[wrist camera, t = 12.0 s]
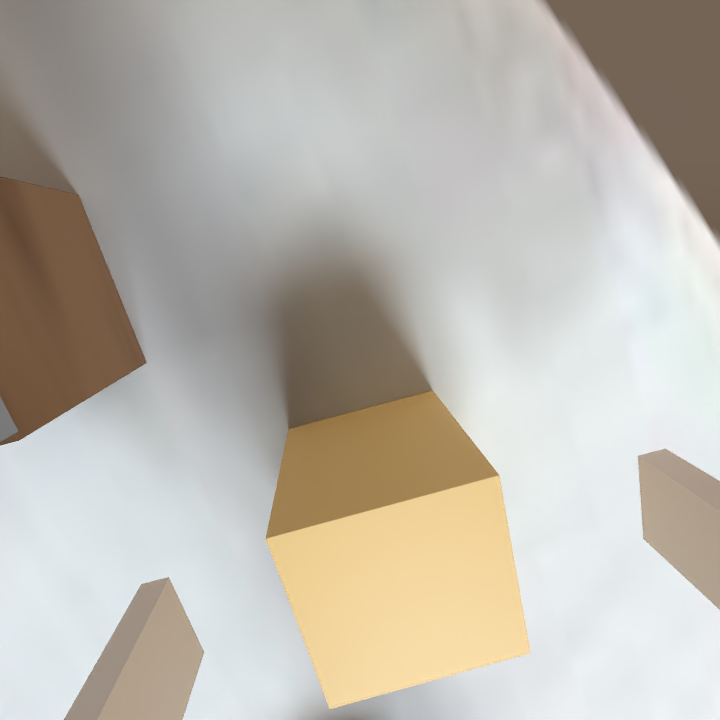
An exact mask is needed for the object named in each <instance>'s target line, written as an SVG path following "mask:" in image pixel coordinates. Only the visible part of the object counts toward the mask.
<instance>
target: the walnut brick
mask: <svg viewBox="0 0 720 720" xmlns="http://www.w3.org/2000/svg"><path fill="white" fill-rule="evenodd" d="M145 363H146V360H145V358H144V355H143V353H142V351H141V348H140V346H139V343H138V341H137V338H136V336H135V333H134V331H133V328H132V326H131V323H130V321H129V318H128V316H127V314H126V311H125V309H124V306H123V304H122V301H121V299H120V296H119V294H118V291H117V289H116V286H115V284H114V281H113V279H112V277H111V274H110V272H109V269H108V267H107V264H106V262H105V259H104V257H103V254H102V252H101V249H100V247H99V244H98V242H97V240H96V237H95V235H94V232H93V230H92V227H91V225H90V222H89V220H88V217H87V215H86V212H85V210H84V207H83V205H82V202H81V200H80V198H79V195H75V194H71V193H67V192H63V191H58V190H54V189H50V188H46V187H41V186H37V185H33V184H29V183H25V182H20V181H16V180H12V179H8V178H3V177H0V397H1V399H2V401H3V403H4V405H5V407H6V408H7V410H8V412H9V414H10V416H11V418H12V420H13V422H14V424H15V426H16V427H17V429H18V432H16V433H15V434H13V435H11V436H10V437H8V438H6V439H4V440H3V441H1V442H0V445H4V444H8V443H11V442H15V441H19V440H21V439H22V438H24V437H26V436H27V435H29V434H30V433H32V432H34V431H35V430H37V429H39V428H40V427H42V426H44V425H45V424H47V423H49V422H50V421H52V420H53V419H55V418H57V417H58V416H60V415H62V414H63V413H65V412H67V411H68V410H70V409H71V408H73V407H75V406H76V405H78V404H80V403H81V402H83V401H85V400H86V399H88V398H90V397H91V396H93V395H94V394H96V393H98V392H99V391H101V390H103V389H104V388H106V387H108V386H109V385H111V384H113V383H114V382H116V381H117V380H119V379H121V378H122V377H124V376H126V375H127V374H129V373H131V372H132V371H134V370H136V369H137V368H139V367H140V366H142V365H144V364H145Z"/></svg>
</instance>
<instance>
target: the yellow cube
mask: <svg viewBox="0 0 720 720" xmlns="http://www.w3.org/2000/svg"><path fill="white" fill-rule="evenodd" d="M266 541H267V544H268V546H269V549H270V552H271V554H272V557H273V560H274V562H275V565H276V568H277V570H278V573H279V576H280V578H281V581H282V584H283V586H284V589H285V592H286V594H287V597H288V600H289V602H290V605H291V608H292V610H293V613H294V615H295V618H296V621H297V623H298V626H299V629H300V631H301V634H302V637H303V639H304V642H305V645H306V647H307V650H308V653H309V655H310V658H311V661H312V663H313V666H314V669H315V671H316V674H317V677H318V679H319V682H320V685H321V687H322V690H323V693H324V695H325V698H326V701H327V703H328V706H329V709H332V708H336V707H339V706H343V705H347V704H350V703H354V702H357V701H361V700H364V699H368V698H372V697H375V696H379V695H382V694H386V693H390V692H393V691H397V690H400V689H404V688H407V687H411V686H415V685H418V684H422V683H425V682H429V681H433V680H436V679H440V678H443V677H447V676H450V675H454V674H458V673H461V672H465V671H468V670H472V669H476V668H479V667H483V666H486V665H490V664H493V663H497V662H501V661H504V660H508V659H511V658H515V657H518V656H522V655H526V654H529V653H530V647H529V641H528V636H527V630H526V624H525V619H524V613H523V607H522V602H521V596H520V590H519V585H518V579H517V573H516V568H515V562H514V556H513V551H512V545H511V539H510V534H509V528H508V522H507V517H506V511H505V505H504V500H503V494H502V488H501V483H500V477H499V474H498V473H497V472H496V471H495V469H494V468H493V467H492V465H491V464H490V463H489V462H488V460H487V459H486V458H485V457H484V455H483V454H482V453H481V451H480V450H479V449H478V448H477V446H476V445H475V444H474V443H473V441H472V440H471V439H470V437H469V436H468V435H467V434H466V432H465V431H464V430H463V429H462V427H461V426H460V425H459V423H458V422H457V421H456V420H455V418H454V417H453V416H452V415H451V413H450V412H449V411H448V409H447V408H446V407H445V406H444V404H443V403H442V402H441V401H440V399H439V398H438V397H437V395H436V394H435V393H434V392H433V390H432V391H429V392H425V393H421V394H417V395H414V396H410V397H406V398H402V399H399V400H395V401H391V402H387V403H384V404H380V405H376V406H373V407H369V408H365V409H361V410H358V411H354V412H350V413H346V414H343V415H339V416H335V417H331V418H328V419H324V420H320V421H316V422H313V423H309V424H305V425H301V426H298V427H294V428H290V429H289V430H288V434H287V439H286V444H285V449H284V454H283V458H282V463H281V468H280V473H279V477H278V482H277V487H276V492H275V497H274V501H273V506H272V511H271V516H270V521H269V525H268V530H267V535H266Z"/></svg>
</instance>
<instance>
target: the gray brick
mask: <svg viewBox="0 0 720 720" xmlns="http://www.w3.org/2000/svg"><path fill="white" fill-rule="evenodd" d="M16 432H18V429H17V427H16V426H15V424H14V422H13V420H12V418H11V416H10V414H9V412H8V410H7V408H6V407H5V405H4V403H3V401H2V399H1V397H0V442H1V441H3V440H4V439H6V438H8V437H10V436H11V435H13V434H15V433H16Z"/></svg>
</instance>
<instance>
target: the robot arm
mask: <svg viewBox="0 0 720 720" xmlns="http://www.w3.org/2000/svg"><path fill="white" fill-rule="evenodd" d="M638 464H639V480H640V495H641V510H642V526H643V539H644V540H645V541H646V542H647V543H649V544H650V545H651V546H652V547H653V548H654V549H655V550H656V551H657V552H658V553H659V554H660V555H661V556H663V557H664V558H665V559H666V560H667V561H668V562H669V563H670V564H671V565H672V566H673V567H674V568H675V569H677V570H678V571H679V572H680V573H681V574H682V575H683V576H684V577H685V578H686V579H687V580H688V581H689V582H691V583H692V584H693V585H694V586H695V587H696V588H697V589H698V590H699V591H700V592H701V593H702V594H703V595H704V596H706V597H707V598H708V599H709V600H710V601H711V602H712V603H713V604H714V605H715V606H716V607H717V608H718V609H720V481H719V480H717V479H715V478H714V477H712V476H710V475H708V474H707V473H705V472H703V471H702V470H700V469H698V468H697V467H695V466H693V465H692V464H690V463H688V462H687V461H685V460H683V459H682V458H680V457H678V456H677V455H675V454H673V453H672V452H670V451H668V450H667V449H663V450H659V451H655V452H651V453H647V454H643V455H639V456H638ZM203 654H204V651H203V649H202V647H201V644H200V642H199V640H198V638H197V636H196V634H195V632H194V630H193V628H192V625H191V623H190V621H189V619H188V617H187V615H186V613H185V611H184V609H183V606H182V604H181V602H180V600H179V598H178V596H177V594H176V592H175V590H174V587H173V585H172V583H171V581H170V579H169V577H168V578H164V579H160V580H156V581H152V582H149V583H145V584H141V586H140V588H139V589H138V591H137V593H136V595H135V596H134V598H133V600H132V602H131V603H130V605H129V607H128V609H127V610H126V612H125V614H124V616H123V617H122V619H121V621H120V623H119V624H118V626H117V628H116V630H115V631H114V633H113V635H112V637H111V638H110V640H109V642H108V644H107V645H106V647H105V649H104V651H103V652H102V654H101V656H100V658H99V659H98V661H97V663H96V665H95V666H94V668H93V670H92V672H91V673H90V675H89V677H88V679H87V680H86V682H85V684H84V686H83V687H82V689H81V691H80V693H79V694H78V696H77V698H76V700H75V701H74V703H73V705H72V707H71V708H70V710H69V712H68V714H67V715H66V717H65V719H64V720H182V719H183V716H184V713H185V710H186V707H187V704H188V701H189V697H190V694H191V691H192V688H193V685H194V682H195V679H196V676H197V672H198V669H199V666H200V663H201V660H202V657H203Z"/></svg>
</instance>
